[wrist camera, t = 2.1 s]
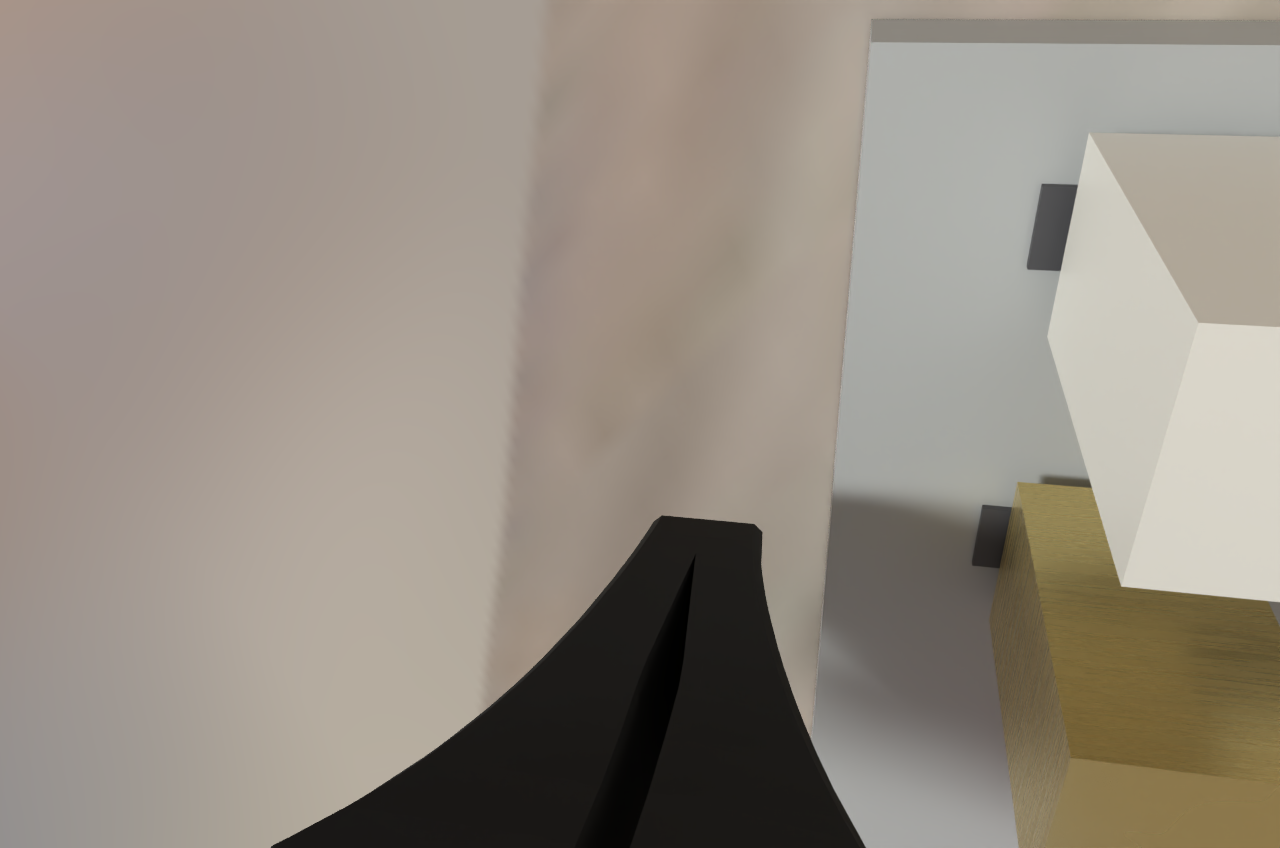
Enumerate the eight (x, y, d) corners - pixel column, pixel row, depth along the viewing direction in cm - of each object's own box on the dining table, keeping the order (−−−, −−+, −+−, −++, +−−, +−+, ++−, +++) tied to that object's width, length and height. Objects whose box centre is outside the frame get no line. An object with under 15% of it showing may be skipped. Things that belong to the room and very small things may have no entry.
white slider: (1270, 349, 11) (1452, 619, 8) (1046, 337, 12) (1121, 587, 8) (1342, 137, 10) (1600, 343, 7) (1088, 133, 11) (1198, 322, 7)
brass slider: (1172, 638, 14) (1275, 946, 10) (988, 619, 14) (1026, 908, 11) (1220, 498, 13) (1357, 795, 9) (1016, 481, 13) (1071, 757, 9)
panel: (1431, 911, 18) (1513, 1080, 16) (804, 820, 20) (794, 958, 18) (2022, 23, 10) (2369, 101, 8) (871, 19, 12) (869, 80, 10)
